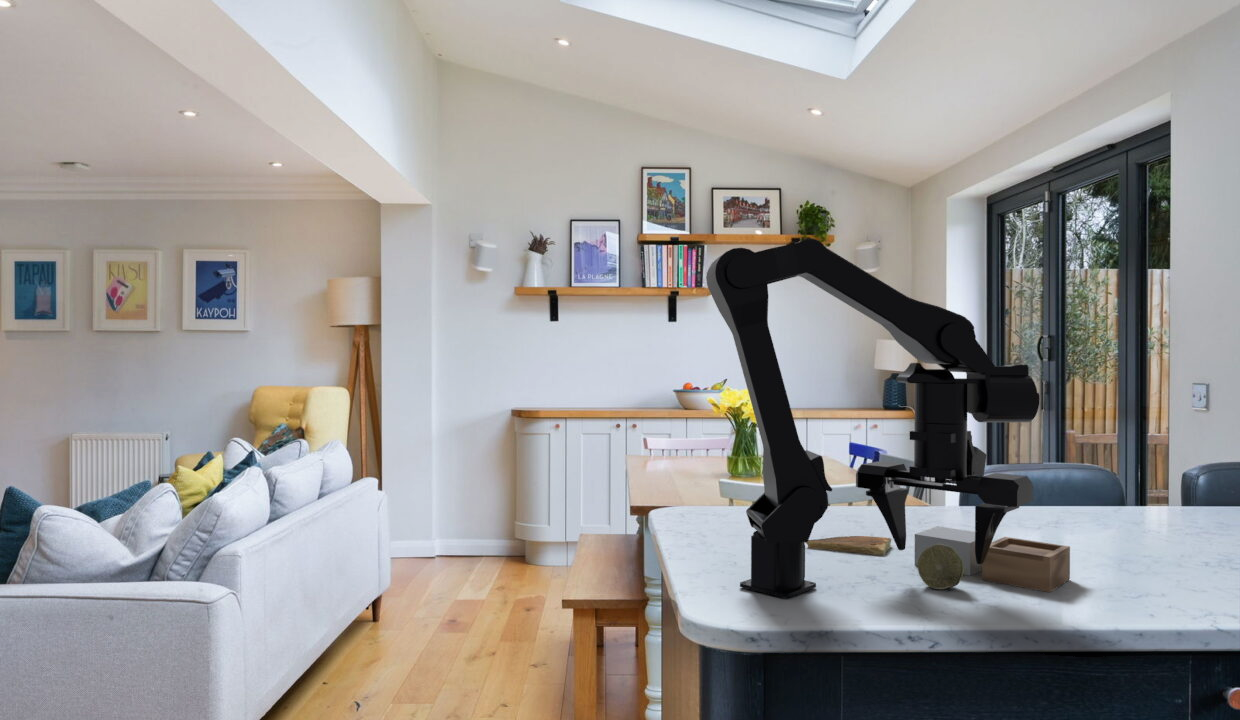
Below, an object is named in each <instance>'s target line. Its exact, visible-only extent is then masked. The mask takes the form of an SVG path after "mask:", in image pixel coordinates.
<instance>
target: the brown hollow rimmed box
mask: <svg viewBox="0 0 1240 720" xmlns="http://www.w3.org/2000/svg"><path fill="white" fill-rule="evenodd" d="M1070 570H1071V547H1070V546H1068V545H1062V544H1055V543H1049V542H1042V541H1036V540H1030V539H1022V538H1016V537H1010V536H1004V537H1001V538H999V539H996V540H994V541H992V542H991V545H990V547H989V550H988V553H987V555H986V558H985V560H984V562H983V563H982V570H981V580H983V581H988V582H993V583H999V584H1005V585H1008V586H1016V587H1020V588H1026V589H1031V590H1036V591H1041V592H1047V593H1051V592H1053V591H1054V590H1055V589H1057V588H1059V587H1060V585H1061V586H1062V585H1064V584H1065V583H1067V582H1068V581H1067V580H1069V579H1071V575H1070V574H1071V571H1070ZM1066 581H1067V582H1066ZM1069 581H1070V580H1069ZM1064 582H1065V583H1064ZM1063 583H1064V584H1063Z"/></svg>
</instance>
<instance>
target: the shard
mask: <svg viewBox="0 0 1240 720" xmlns="http://www.w3.org/2000/svg"><path fill="white" fill-rule="evenodd" d="M891 543H892V538H891V537H882V536H881V537H880V536H872V535H871V536H870V535H851V536H836V537H834V536H833V537H825V538H820V539H819V538H818V539H809V540H808V542H805V544H806V545H807V548H808V549H809V548H810V549H816V548H819V549H818V550H830V551H839V552H848V553H849V552H852V553H857V554H865V555H866V554H868V555H875V556H883V557H884V556H885V555H886V553H887V551H889V549H891V546H892V545H891Z"/></svg>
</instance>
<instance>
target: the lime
mask: <svg viewBox="0 0 1240 720" xmlns="http://www.w3.org/2000/svg"><path fill="white" fill-rule="evenodd" d="M917 571H918V574H919V575H918V576H919V577H920V578H921V580H922V581H923V583H924V584H925V585H926V586H928V587H929V588H931V589H933V590H934V589H935V590H939V591H940V590H946V589H951V588H954V587H956V586H958V585H959V584H960V582H961V580H962V578H963V576H964V574H963V573H964V566H963V561H962V560H961V558H960V557H959V555H958V554H957V552H956V551H955V550H954V549H953V548H951V547H949V546H947V545H943V544H934V545H932V546H930V547H928V548H926V549H925V550H924V551H923V552H922V554H921V555H920V558H919V559H918V566H917Z"/></svg>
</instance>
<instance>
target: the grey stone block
mask: <svg viewBox="0 0 1240 720" xmlns="http://www.w3.org/2000/svg"><path fill="white" fill-rule="evenodd" d="M934 544H943V545H947V546H949V547H951V548H953V549H954V550H955V551H956V552H957V554H958V555H959V557H960V558H961V560H962V561H963V566H964V573H963V576H964V575H965V576H971V575H974V574H976V573H979V572H980V571H982V564H977V562H976V555H975V531H971V530H966V529H957V528H953V527H944V526H934V527H931V528H929V529H925V530H922V531H920V532H917V533H914V566H916V567H918V559H919V558H920V555H921V554H922V552H923V551H924V550H925V549H926V548H928V547H930V546H932V545H934Z"/></svg>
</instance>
